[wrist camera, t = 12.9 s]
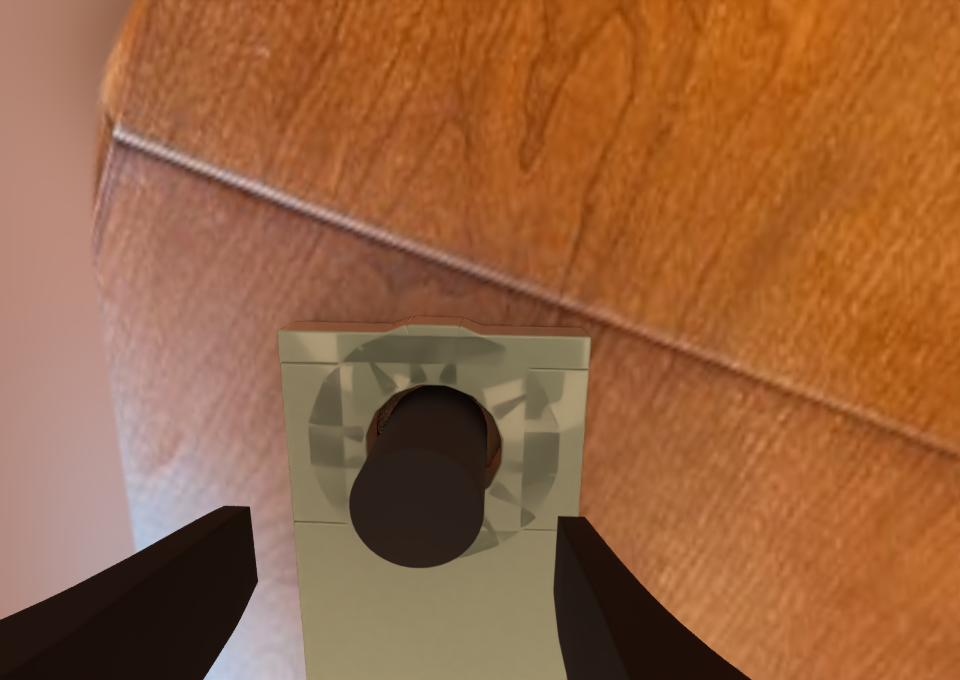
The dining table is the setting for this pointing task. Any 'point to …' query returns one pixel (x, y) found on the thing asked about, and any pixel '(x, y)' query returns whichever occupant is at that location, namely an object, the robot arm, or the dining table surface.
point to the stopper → (424, 480)
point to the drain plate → (507, 511)
